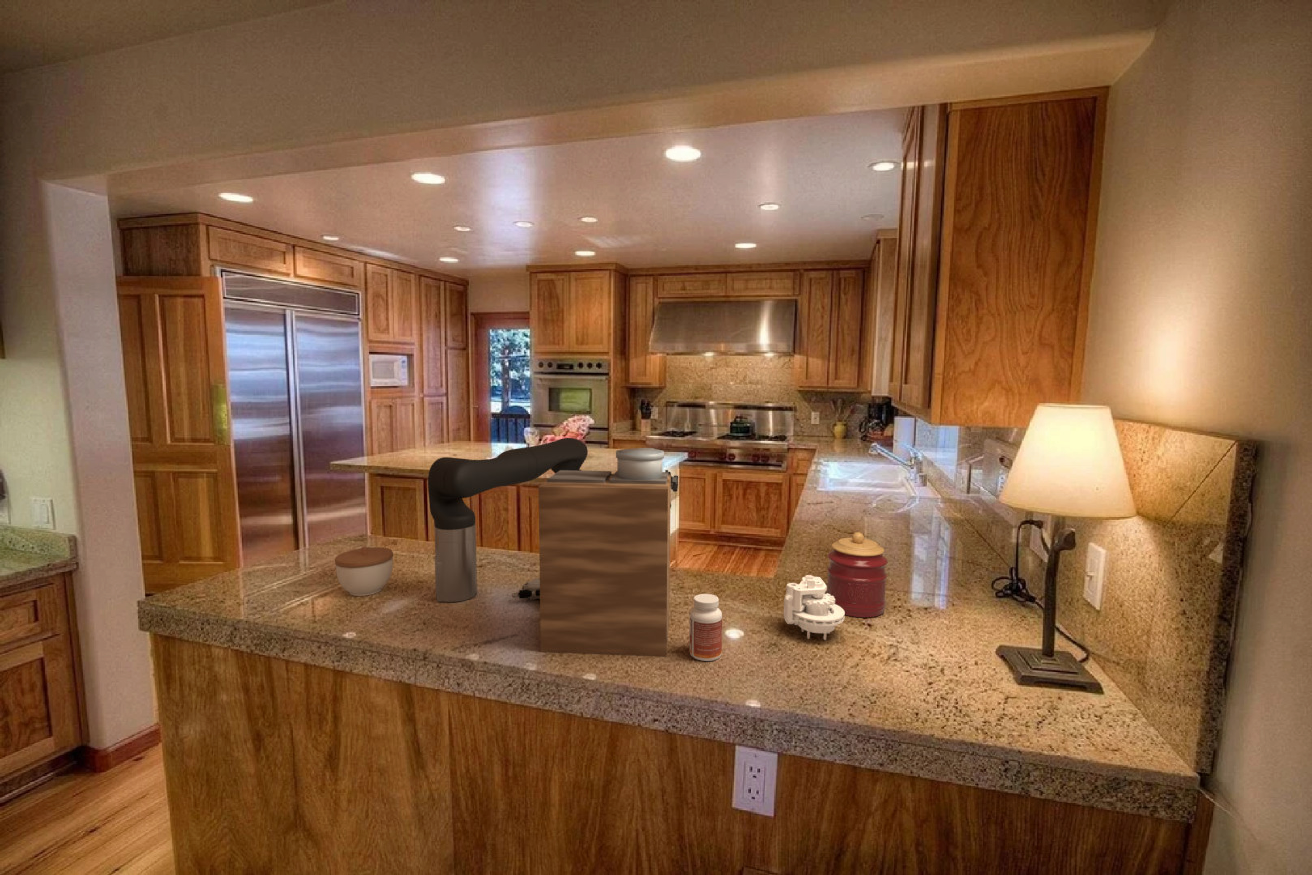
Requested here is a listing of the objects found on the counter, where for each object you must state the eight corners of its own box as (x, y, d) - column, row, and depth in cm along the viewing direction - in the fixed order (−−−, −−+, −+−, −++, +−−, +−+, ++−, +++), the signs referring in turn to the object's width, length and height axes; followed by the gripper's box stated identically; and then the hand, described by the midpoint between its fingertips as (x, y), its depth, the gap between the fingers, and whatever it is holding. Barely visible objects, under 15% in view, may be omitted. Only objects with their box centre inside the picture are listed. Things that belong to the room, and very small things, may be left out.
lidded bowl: (365, 603, 132) (363, 557, 131) (324, 596, 136) (321, 551, 135) (405, 585, 144) (404, 542, 142) (366, 579, 148) (364, 537, 146)
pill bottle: (728, 656, 108) (729, 599, 107) (703, 665, 104) (704, 607, 103) (707, 644, 113) (708, 589, 112) (682, 652, 109) (683, 596, 108)
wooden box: (666, 656, 108) (667, 485, 104) (540, 651, 109) (538, 483, 106) (669, 620, 123) (670, 471, 120) (559, 617, 125) (558, 469, 122)
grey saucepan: (662, 480, 109) (662, 454, 109) (612, 479, 110) (612, 454, 110) (667, 463, 132) (667, 442, 132) (626, 462, 133) (626, 441, 132)
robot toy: (509, 608, 132) (567, 612, 127) (507, 589, 132) (565, 593, 127) (537, 590, 144) (590, 593, 139) (535, 572, 143) (589, 575, 138)
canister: (836, 592, 141) (838, 522, 139) (891, 604, 133) (895, 531, 131) (817, 609, 130) (820, 534, 128) (876, 623, 123) (880, 543, 121)
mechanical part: (837, 651, 110) (839, 591, 109) (776, 637, 116) (778, 580, 115) (848, 629, 120) (851, 574, 119) (792, 617, 126) (794, 565, 125)
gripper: (628, 480, 162) (623, 458, 147) (679, 481, 161) (678, 459, 146) (627, 506, 159) (621, 486, 144) (678, 507, 158) (677, 487, 143)
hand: (649, 473), depth 145 cm, fingers open, 8 cm apart
